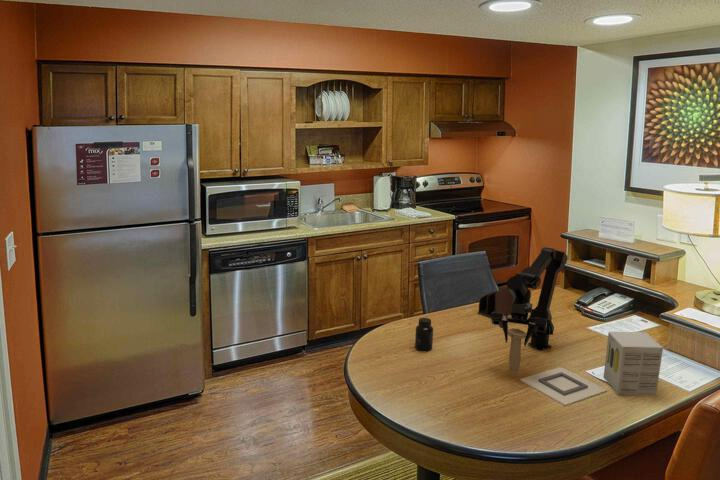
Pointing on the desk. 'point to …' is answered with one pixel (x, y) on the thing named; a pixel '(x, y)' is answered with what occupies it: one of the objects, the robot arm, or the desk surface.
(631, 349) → the supplement box
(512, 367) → the handle
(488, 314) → the letter holder
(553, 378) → the socket plate
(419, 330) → the supplement bottle
